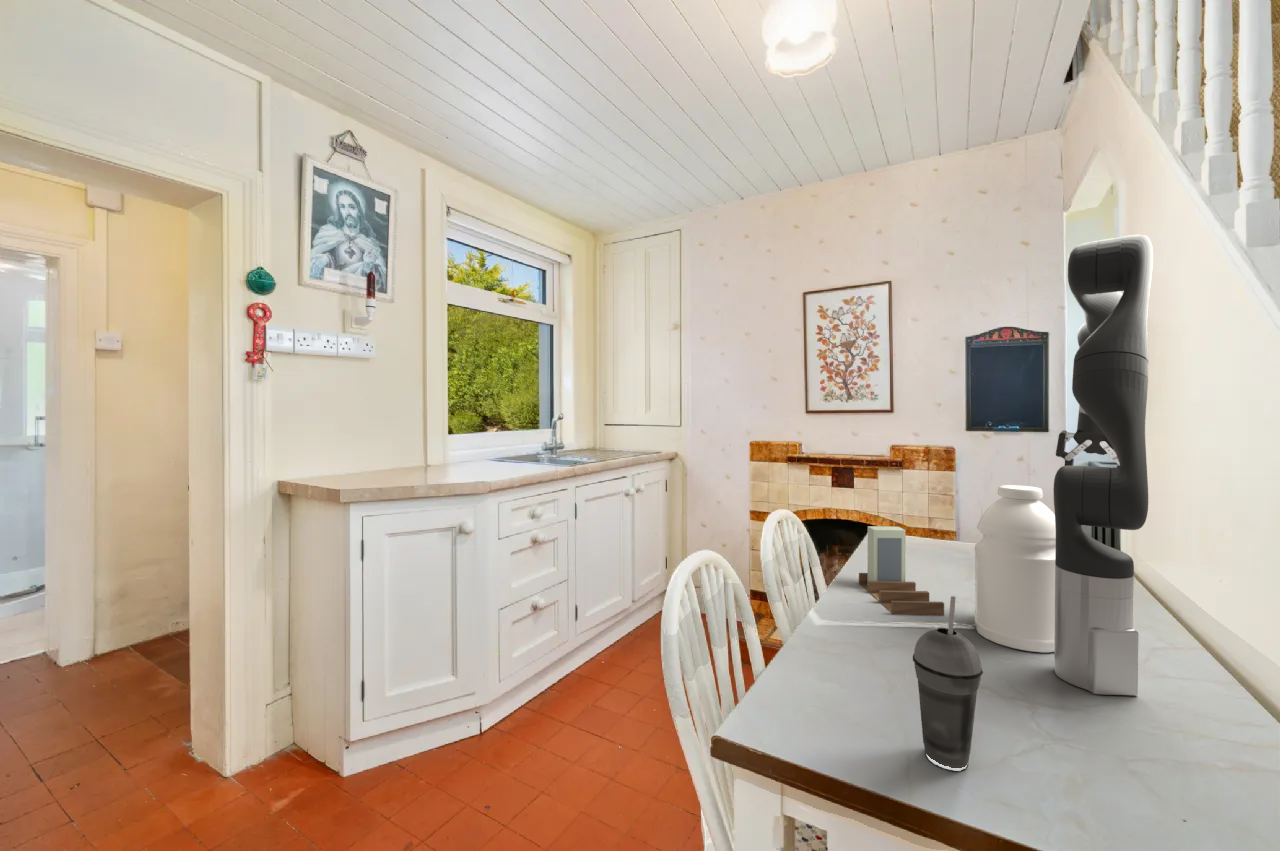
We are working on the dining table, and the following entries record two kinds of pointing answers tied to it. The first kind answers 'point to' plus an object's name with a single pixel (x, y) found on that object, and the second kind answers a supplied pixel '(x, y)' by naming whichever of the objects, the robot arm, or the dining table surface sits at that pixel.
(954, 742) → the beverage cup
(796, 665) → the dining table surface
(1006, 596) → the bottle
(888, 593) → the stand
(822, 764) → the dining table surface
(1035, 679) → the dining table surface
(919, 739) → the dining table surface
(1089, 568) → the robot arm
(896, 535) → the beige box
